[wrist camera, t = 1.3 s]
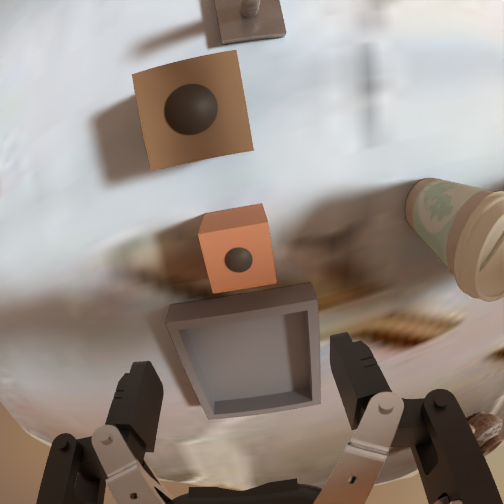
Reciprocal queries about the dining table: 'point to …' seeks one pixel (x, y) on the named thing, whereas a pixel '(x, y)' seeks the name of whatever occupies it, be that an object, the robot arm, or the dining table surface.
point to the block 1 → (193, 110)
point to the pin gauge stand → (249, 20)
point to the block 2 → (237, 248)
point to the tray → (250, 350)
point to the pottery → (486, 431)
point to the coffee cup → (462, 232)
